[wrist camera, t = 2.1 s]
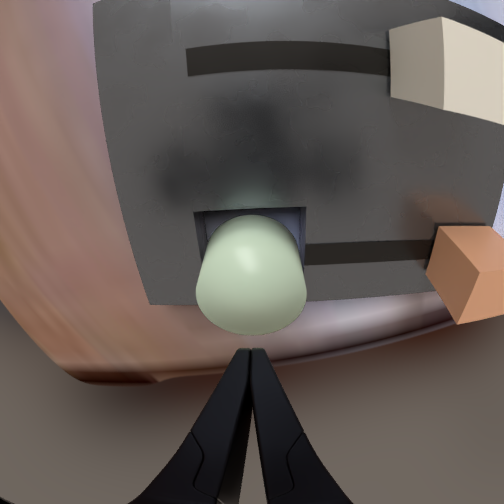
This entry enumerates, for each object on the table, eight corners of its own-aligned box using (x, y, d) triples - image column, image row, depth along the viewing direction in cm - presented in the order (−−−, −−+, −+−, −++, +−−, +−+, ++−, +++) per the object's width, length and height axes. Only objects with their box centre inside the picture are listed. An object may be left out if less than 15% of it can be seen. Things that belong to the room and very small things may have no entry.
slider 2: (489, 226, 13) (530, 266, 9) (475, 269, 14) (508, 312, 11) (438, 226, 13) (479, 272, 10) (425, 274, 15) (456, 324, 11)
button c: (299, 212, 13) (309, 248, 11) (297, 290, 15) (303, 333, 13) (200, 217, 13) (186, 253, 11) (213, 293, 16) (205, 335, 13)
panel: (489, 30, 8) (512, 30, 7) (458, 268, 17) (471, 286, 15) (112, 10, 9) (92, 3, 8) (158, 282, 18) (149, 305, 16)
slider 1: (464, 50, 8) (524, 54, 5) (463, 110, 10) (522, 131, 6) (388, 29, 8) (441, 16, 5) (390, 96, 10) (443, 109, 6)
